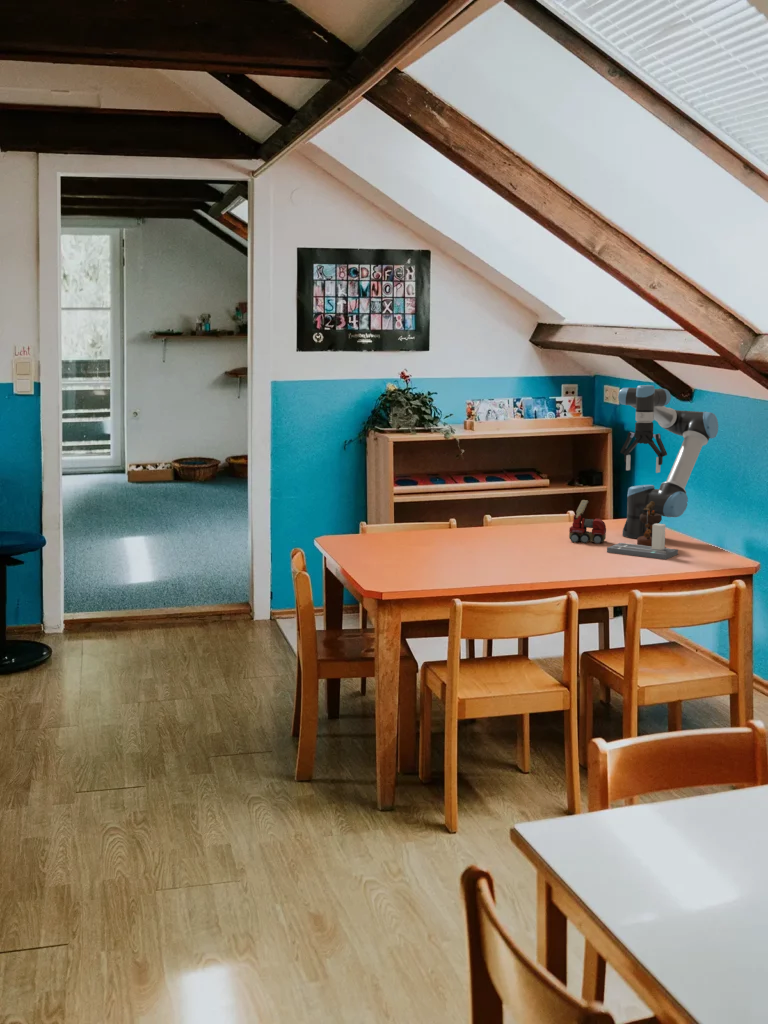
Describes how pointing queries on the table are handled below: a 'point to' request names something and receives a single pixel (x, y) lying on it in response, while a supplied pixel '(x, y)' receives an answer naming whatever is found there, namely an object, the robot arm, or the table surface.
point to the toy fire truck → (579, 529)
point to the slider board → (641, 551)
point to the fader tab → (658, 537)
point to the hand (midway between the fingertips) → (642, 471)
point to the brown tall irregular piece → (648, 524)
